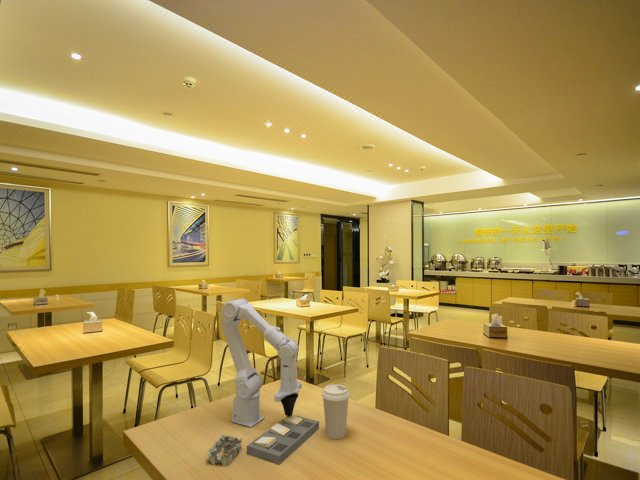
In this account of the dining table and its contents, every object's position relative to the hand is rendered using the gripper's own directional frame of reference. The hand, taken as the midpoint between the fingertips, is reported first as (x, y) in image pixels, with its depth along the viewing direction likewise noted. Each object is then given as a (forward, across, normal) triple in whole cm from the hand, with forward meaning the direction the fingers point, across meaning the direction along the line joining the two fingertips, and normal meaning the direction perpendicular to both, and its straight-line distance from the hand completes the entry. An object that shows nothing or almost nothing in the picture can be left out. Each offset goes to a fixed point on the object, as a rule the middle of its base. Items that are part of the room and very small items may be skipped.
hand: (288, 415), depth 124 cm
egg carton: (+4, -24, +7) cm, 25 cm away
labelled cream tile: (+1, 0, -2) cm, 2 cm away
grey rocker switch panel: (+4, -8, -4) cm, 10 cm away
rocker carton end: (+1, -16, -2) cm, 16 cm away
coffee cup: (+4, +3, -17) cm, 18 cm away
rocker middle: (+1, -8, -2) cm, 8 cm away
